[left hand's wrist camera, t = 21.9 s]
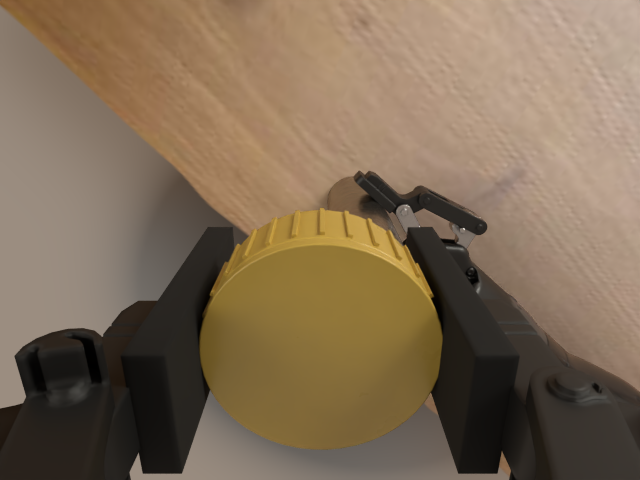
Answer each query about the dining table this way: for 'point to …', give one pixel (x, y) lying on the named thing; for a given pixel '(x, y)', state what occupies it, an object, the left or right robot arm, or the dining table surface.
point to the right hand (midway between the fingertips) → (333, 201)
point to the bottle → (359, 204)
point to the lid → (320, 332)
